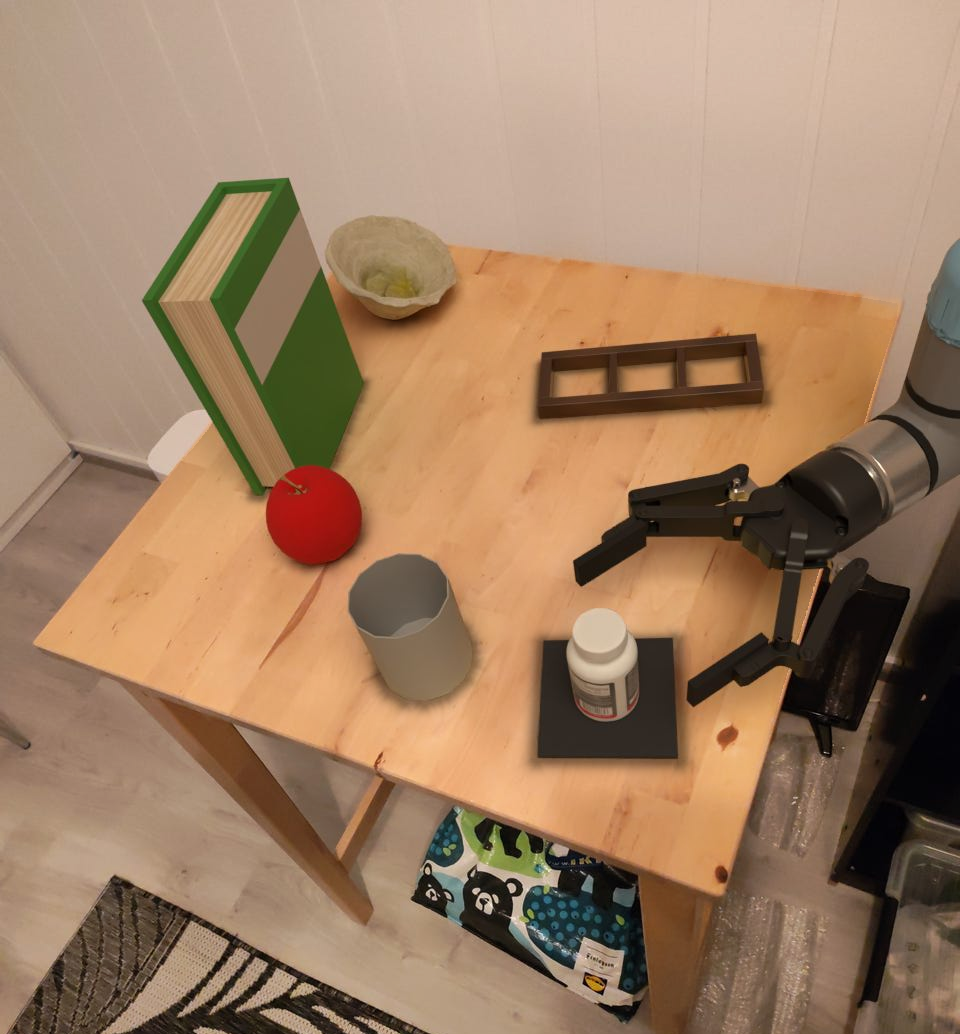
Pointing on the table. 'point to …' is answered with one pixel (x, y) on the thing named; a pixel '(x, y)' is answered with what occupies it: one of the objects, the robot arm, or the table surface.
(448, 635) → the cup
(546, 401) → the bottle rack
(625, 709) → the pill bottle
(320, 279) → the hardback book
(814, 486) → the robot arm
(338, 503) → the fruit
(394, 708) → the table surface
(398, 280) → the bowl
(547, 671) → the mat
